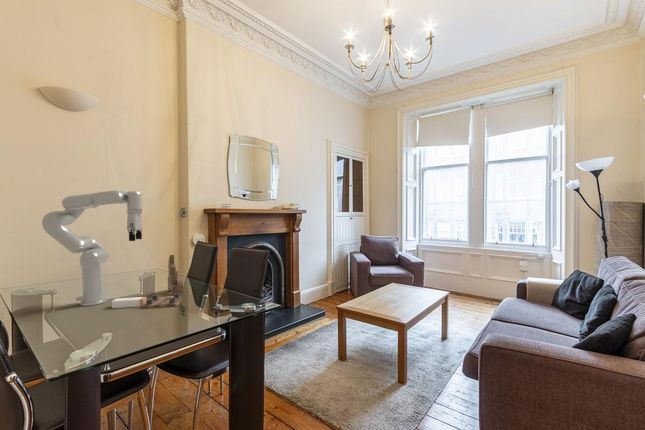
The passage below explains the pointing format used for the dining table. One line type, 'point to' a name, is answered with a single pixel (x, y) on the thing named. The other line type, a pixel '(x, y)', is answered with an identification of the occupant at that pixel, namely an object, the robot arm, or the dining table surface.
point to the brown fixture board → (163, 301)
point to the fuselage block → (129, 302)
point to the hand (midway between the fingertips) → (135, 240)
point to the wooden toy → (174, 278)
